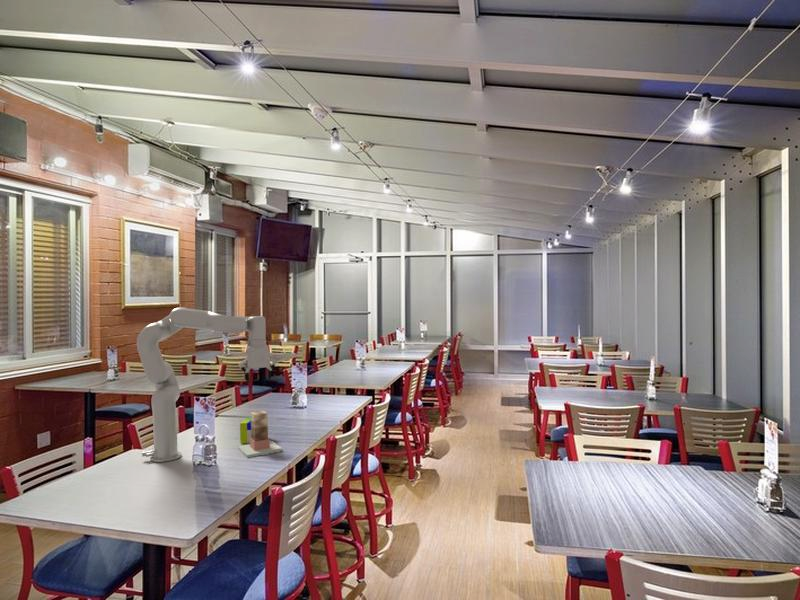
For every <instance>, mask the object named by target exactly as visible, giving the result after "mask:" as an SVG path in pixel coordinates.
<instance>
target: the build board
mask: <svg viewBox="0 0 800 600" xmlns="http://www.w3.org/2000/svg"><path fill="white" fill-rule="evenodd" d="M237 450H238V451H239V452H241V453H242V455H243V456H244V457H246V458H247V459H248V457H249V458H252V457H253V458H254V457H258V456H259V455H260V456H264V454H265V455H270V454H269V453H271V454H275V453H274V452H276V453H280V451H281V452H283V447H281V446H279V445H278V444H277V443H275V442H274V441H273V440H270V438H269V437H268V439H266V440H260V441H254V440H253V439H251V438H250V444H241V445H237ZM260 456H259V457H260Z"/></svg>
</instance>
